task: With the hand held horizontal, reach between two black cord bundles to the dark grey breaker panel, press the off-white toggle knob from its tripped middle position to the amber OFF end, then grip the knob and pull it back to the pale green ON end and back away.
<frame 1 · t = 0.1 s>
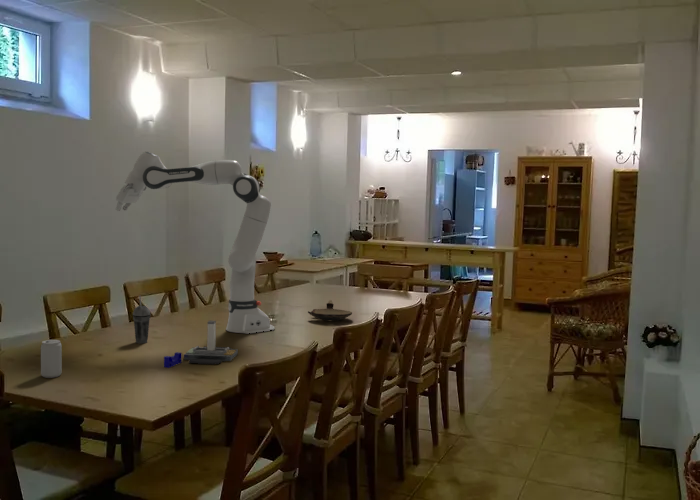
hand: (120, 210, 299), 54 cm above the table, tool tilted 30°, fingers open, 8 cm apart
cable holder: (171, 365, 241), on the table
breaker panel: (211, 356, 253), on the table
cord bundle B: (217, 350, 263), on the table
beverage cup: (141, 342, 274), on the table
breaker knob: (211, 336, 253), point 8 cm above the table, slide at 4.0 cm
oil lamp: (331, 319, 337), on the table
beverage can: (51, 376, 222), on the table
cord bundle A: (204, 363, 243), on the table
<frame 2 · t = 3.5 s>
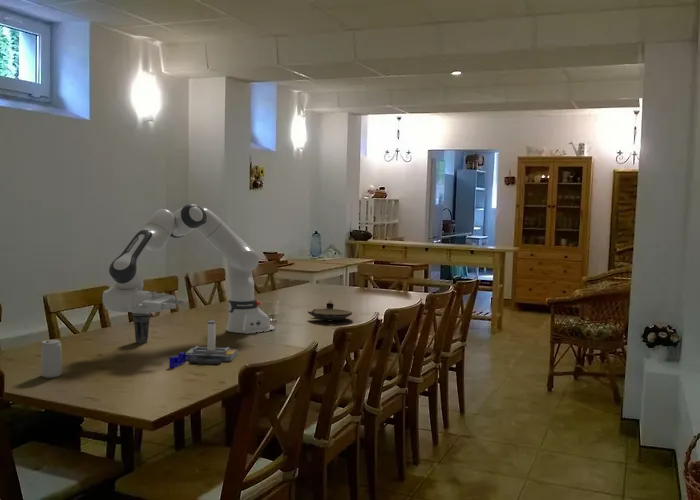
hand: (179, 304, 252), 20 cm above the table, tool horizontal, fingers open, 8 cm apart
cable holder: (175, 365, 240), on the table
everything else where it was.
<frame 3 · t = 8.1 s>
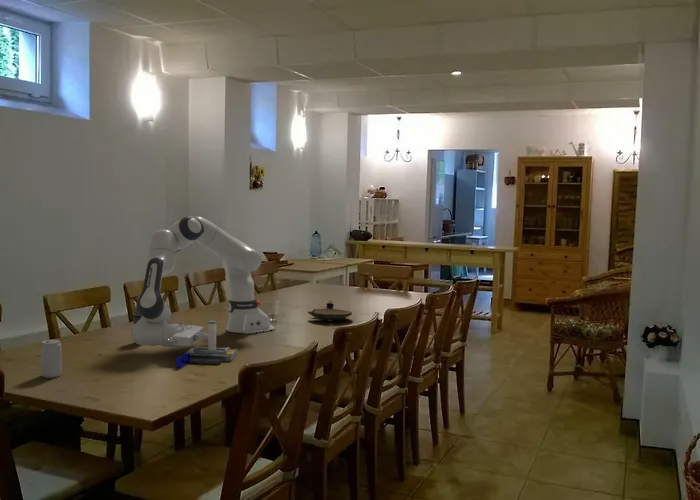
hand: (209, 336, 253), 8 cm above the table, tool horizontal, fingers closed, pressing on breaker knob
cable holder: (181, 366, 240), on the table
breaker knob: (212, 336, 253), point 8 cm above the table, slide at 4.3 cm, touching gripper
everything else where it was.
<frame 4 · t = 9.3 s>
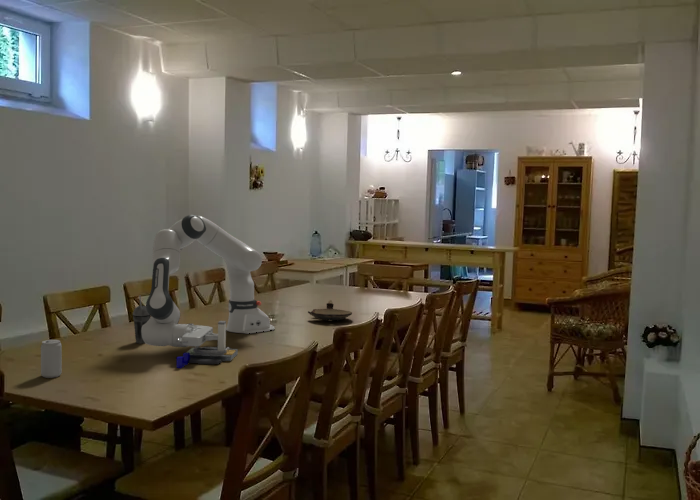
hand: (218, 337, 253), 8 cm above the table, tool horizontal, fingers closed, pressing on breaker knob
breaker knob: (221, 336, 252), point 8 cm above the table, slide at 8.0 cm, touching gripper
everything else where it was.
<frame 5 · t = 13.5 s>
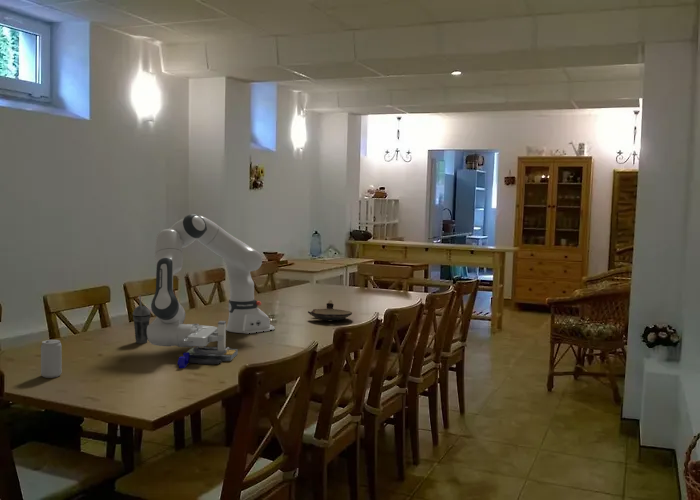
hand: (224, 337, 252), 8 cm above the table, tool horizontal, fingers closed on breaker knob, 3 cm apart
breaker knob: (221, 336, 252), point 8 cm above the table, slide at 8.0 cm, touching gripper
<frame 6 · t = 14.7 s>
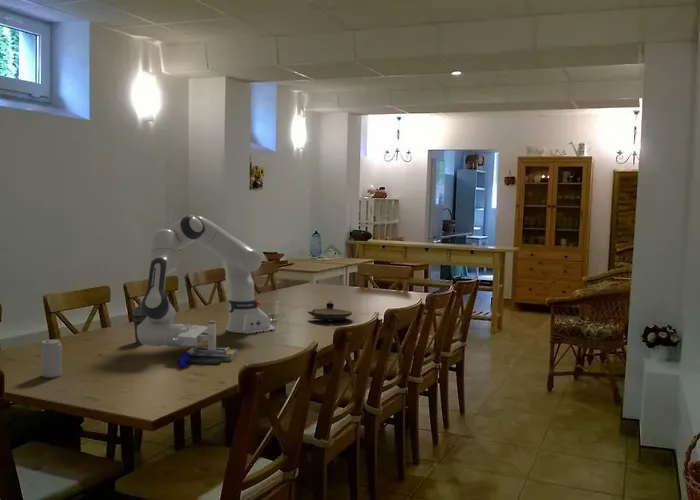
hand: (214, 336, 253), 8 cm above the table, tool horizontal, fingers closed on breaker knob, 3 cm apart
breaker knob: (212, 336, 253), point 8 cm above the table, slide at 4.2 cm, touching gripper
everything else where it was.
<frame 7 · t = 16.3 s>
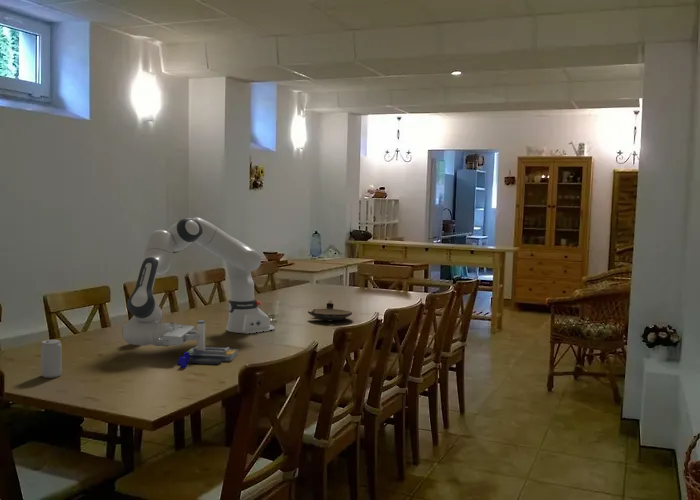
hand: (200, 335, 253), 8 cm above the table, tool horizontal, fingers open, 3 cm apart
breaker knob: (201, 335, 253), point 8 cm above the table, slide at -0.1 cm, touching gripper
everything else where it was.
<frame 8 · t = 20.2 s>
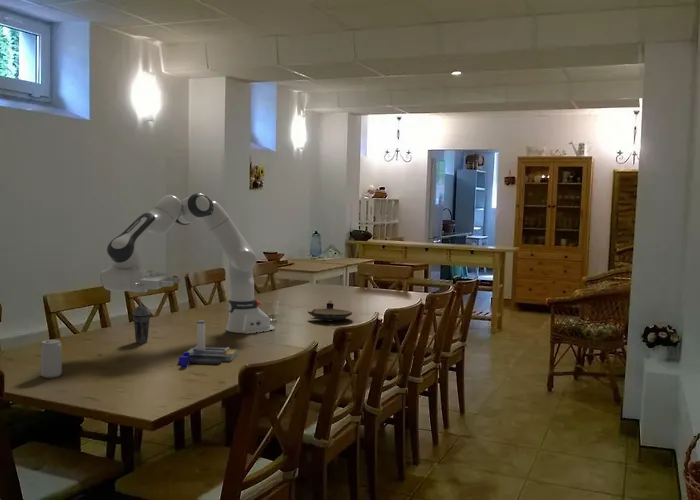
hand: (176, 282, 257), 28 cm above the table, tool horizontal, fingers open, 8 cm apart
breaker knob: (201, 335, 253), point 8 cm above the table, slide at 0.0 cm
at the end: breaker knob slide at 0.0 cm; the gripper is holding nothing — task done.
